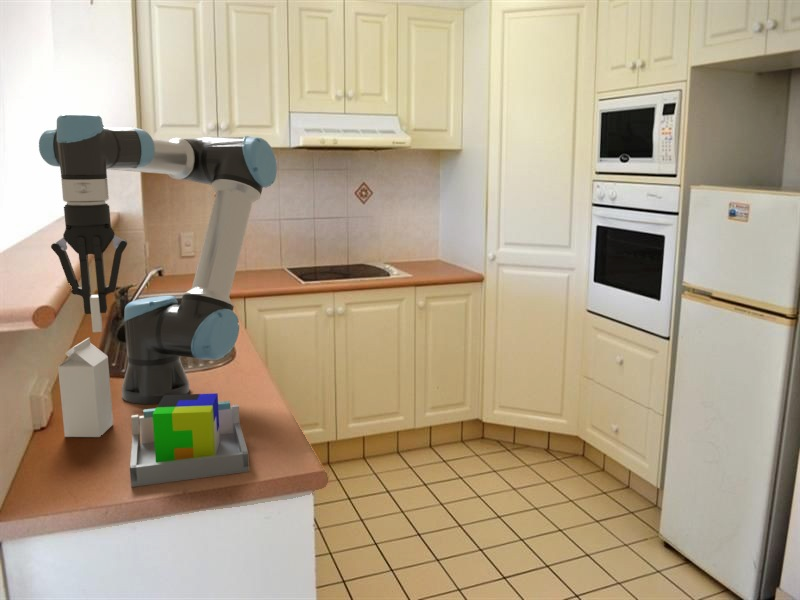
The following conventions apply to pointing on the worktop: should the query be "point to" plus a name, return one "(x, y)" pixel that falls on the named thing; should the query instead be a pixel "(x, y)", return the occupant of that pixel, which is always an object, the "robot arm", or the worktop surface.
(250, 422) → the worktop surface
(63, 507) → the worktop surface
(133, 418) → the grey tray
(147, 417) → the cover panel
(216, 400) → the puzzle toy
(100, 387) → the milk carton
